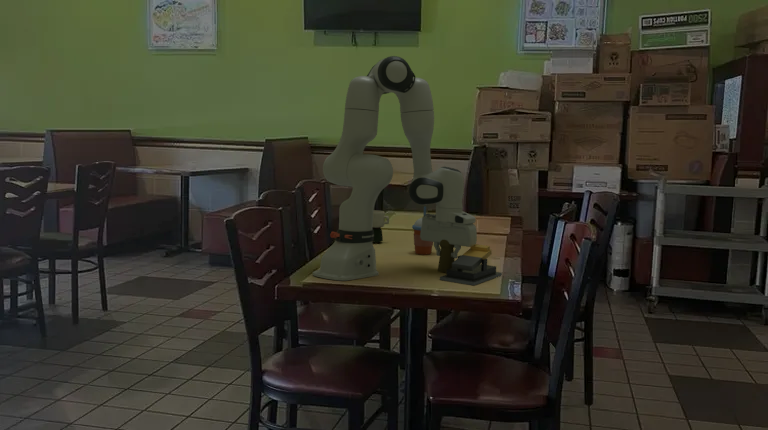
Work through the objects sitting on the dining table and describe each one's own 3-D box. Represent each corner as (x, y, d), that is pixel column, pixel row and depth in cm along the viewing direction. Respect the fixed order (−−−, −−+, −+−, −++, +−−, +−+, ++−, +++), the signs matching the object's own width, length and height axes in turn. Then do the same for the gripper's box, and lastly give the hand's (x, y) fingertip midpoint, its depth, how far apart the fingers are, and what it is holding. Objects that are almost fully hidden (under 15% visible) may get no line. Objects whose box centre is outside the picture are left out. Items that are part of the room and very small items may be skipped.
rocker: (472, 271, 219) (471, 262, 218) (452, 267, 222) (451, 259, 222) (491, 254, 229) (491, 246, 228) (472, 251, 233) (471, 243, 232)
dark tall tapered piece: (437, 268, 240) (438, 236, 238) (455, 269, 239) (456, 237, 238) (437, 272, 234) (438, 239, 232) (455, 272, 233) (456, 239, 232)
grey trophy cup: (388, 241, 294) (389, 210, 293) (387, 244, 287) (388, 212, 286) (362, 240, 295) (363, 209, 294) (361, 243, 288) (362, 211, 286)
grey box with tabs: (474, 285, 215) (475, 264, 214) (439, 279, 222) (440, 259, 221) (501, 275, 231) (502, 255, 231) (469, 270, 238) (470, 251, 237)
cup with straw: (433, 256, 264) (435, 208, 262) (409, 254, 265) (411, 207, 263) (436, 252, 273) (438, 206, 270) (413, 250, 274) (415, 204, 272)
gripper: (417, 213, 238) (415, 253, 239) (470, 219, 226) (468, 262, 227) (427, 212, 243) (425, 251, 244) (480, 218, 231) (477, 259, 233)
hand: (446, 256), depth 236 cm, fingers open, 4 cm apart
